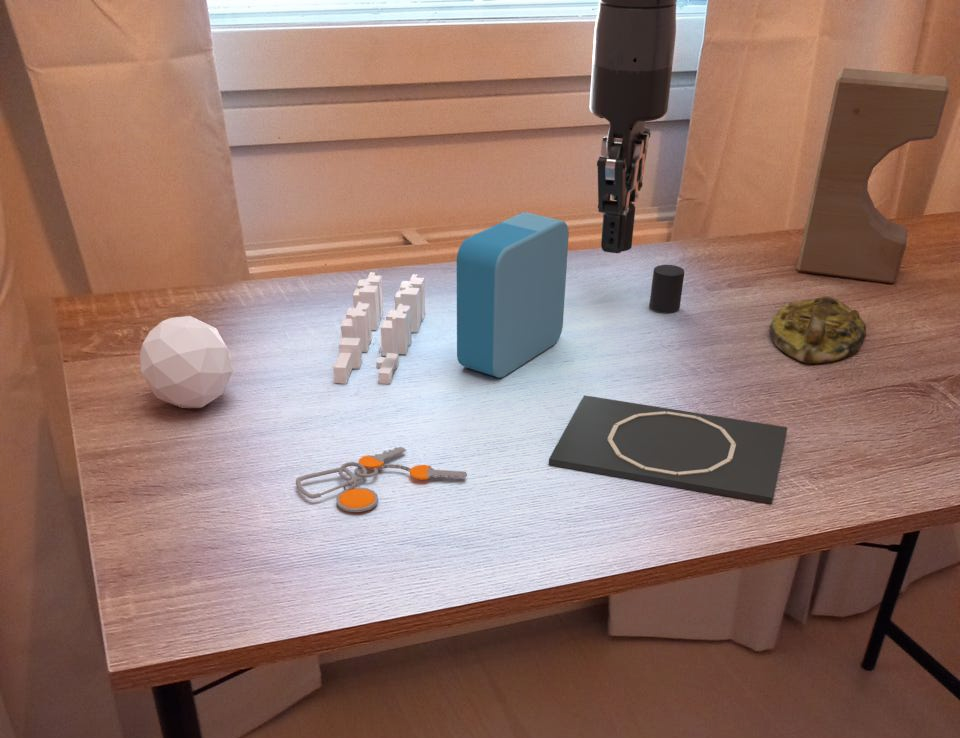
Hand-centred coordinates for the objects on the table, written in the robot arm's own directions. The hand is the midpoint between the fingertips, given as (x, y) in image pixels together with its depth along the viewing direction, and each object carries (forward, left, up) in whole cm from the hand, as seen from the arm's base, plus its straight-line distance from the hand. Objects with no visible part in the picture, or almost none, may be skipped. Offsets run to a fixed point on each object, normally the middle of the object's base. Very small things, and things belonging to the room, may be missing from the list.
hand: (616, 244), depth 107 cm
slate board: (-12, +30, -6) cm, 33 cm away
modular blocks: (+19, +19, -6) cm, 28 cm away
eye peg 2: (-6, 0, -6) cm, 8 cm away
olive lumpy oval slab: (-22, +2, -6) cm, 23 cm away
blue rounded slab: (+6, +17, -6) cm, 19 cm away
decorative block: (-24, -18, -6) cm, 30 cm away
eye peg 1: (0, 0, 0) cm, 0 cm away
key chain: (+9, +43, -6) cm, 44 cm away
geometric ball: (+30, +36, -6) cm, 47 cm away
